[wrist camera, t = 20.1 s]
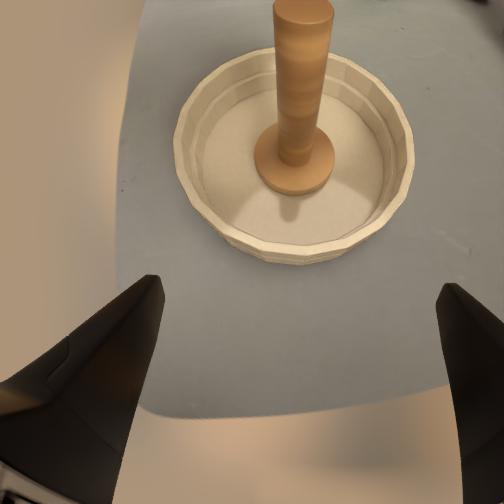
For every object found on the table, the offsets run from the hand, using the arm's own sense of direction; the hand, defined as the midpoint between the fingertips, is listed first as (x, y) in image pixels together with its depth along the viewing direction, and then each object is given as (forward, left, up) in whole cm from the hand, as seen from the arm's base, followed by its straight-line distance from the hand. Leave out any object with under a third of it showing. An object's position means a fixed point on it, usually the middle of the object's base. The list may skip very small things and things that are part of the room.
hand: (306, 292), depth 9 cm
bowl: (+11, +1, -14) cm, 17 cm away
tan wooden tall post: (+10, +1, -13) cm, 17 cm away
